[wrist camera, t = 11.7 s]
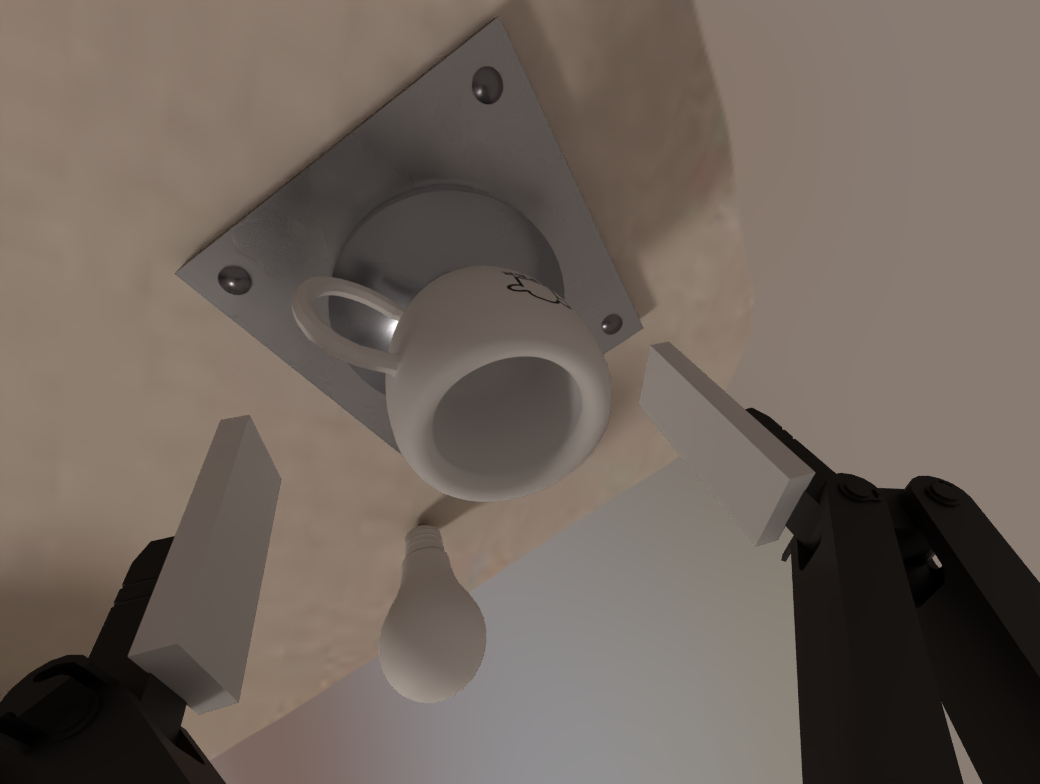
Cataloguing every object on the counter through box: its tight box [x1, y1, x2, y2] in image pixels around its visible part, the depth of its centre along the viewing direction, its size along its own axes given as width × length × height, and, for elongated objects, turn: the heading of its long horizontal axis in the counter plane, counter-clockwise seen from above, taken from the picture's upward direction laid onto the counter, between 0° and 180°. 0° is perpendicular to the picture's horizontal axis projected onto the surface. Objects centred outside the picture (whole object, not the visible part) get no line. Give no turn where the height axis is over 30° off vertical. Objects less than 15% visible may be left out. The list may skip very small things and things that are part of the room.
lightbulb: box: [379, 525, 486, 703], centre depth 28 cm, size 6×6×11 cm
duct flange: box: [175, 16, 643, 455], centre depth 22 cm, size 16×16×2 cm
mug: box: [291, 266, 611, 502], centre depth 18 cm, size 12×8×8 cm
